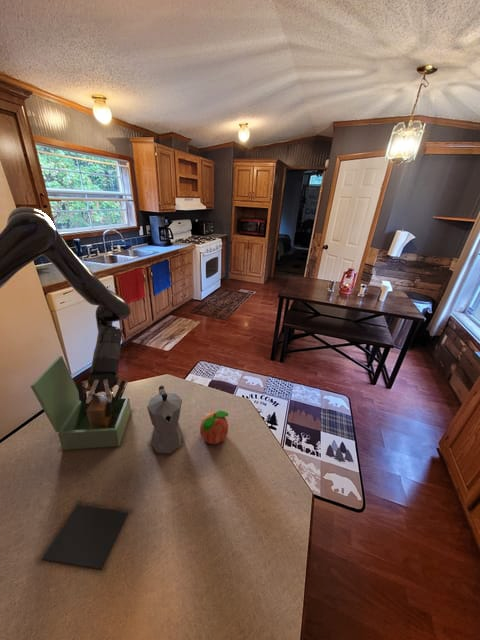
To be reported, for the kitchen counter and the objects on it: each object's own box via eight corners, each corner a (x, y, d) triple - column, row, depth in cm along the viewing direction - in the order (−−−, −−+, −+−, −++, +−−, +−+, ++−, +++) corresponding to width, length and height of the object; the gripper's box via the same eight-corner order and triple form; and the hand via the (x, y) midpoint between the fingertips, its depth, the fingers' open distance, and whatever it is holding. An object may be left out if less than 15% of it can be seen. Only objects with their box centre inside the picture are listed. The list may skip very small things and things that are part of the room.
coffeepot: (187, 456, 72) (187, 406, 65) (153, 466, 68) (148, 415, 61) (177, 417, 85) (176, 373, 78) (147, 425, 81) (143, 378, 74)
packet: (114, 419, 81) (110, 395, 77) (107, 436, 75) (103, 410, 71) (99, 420, 80) (94, 395, 76) (91, 437, 74) (86, 410, 71)
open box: (131, 413, 85) (129, 396, 83) (119, 448, 73) (116, 430, 70) (83, 415, 83) (80, 398, 80) (63, 451, 70) (57, 433, 68)
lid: (61, 355, 74) (59, 356, 74) (33, 385, 61) (30, 386, 61) (81, 397, 80) (78, 397, 80) (59, 432, 68) (56, 432, 68)
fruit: (193, 435, 79) (193, 410, 75) (218, 422, 84) (220, 398, 80) (208, 455, 73) (209, 429, 69) (234, 440, 78) (236, 415, 74)
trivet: (43, 561, 49) (41, 559, 49) (78, 506, 58) (77, 504, 58) (102, 572, 48) (101, 569, 48) (128, 514, 57) (128, 512, 57)
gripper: (76, 356, 75) (64, 418, 69) (127, 355, 77) (120, 415, 71) (86, 361, 82) (77, 418, 76) (133, 361, 84) (127, 415, 78)
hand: (98, 416), depth 73 cm, fingers closed on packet, 4 cm apart
